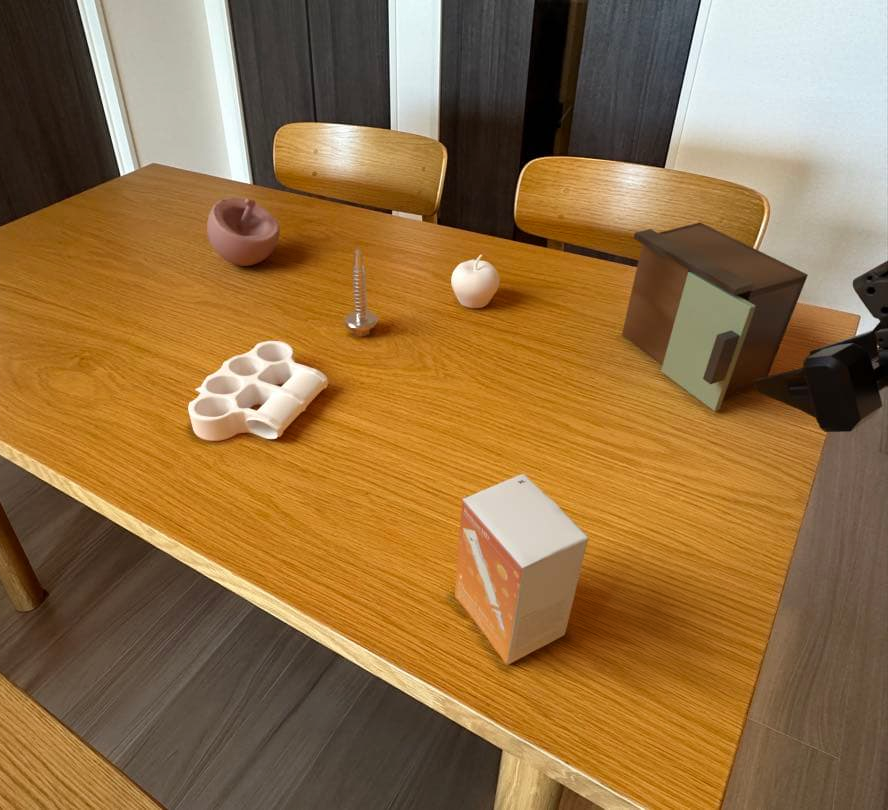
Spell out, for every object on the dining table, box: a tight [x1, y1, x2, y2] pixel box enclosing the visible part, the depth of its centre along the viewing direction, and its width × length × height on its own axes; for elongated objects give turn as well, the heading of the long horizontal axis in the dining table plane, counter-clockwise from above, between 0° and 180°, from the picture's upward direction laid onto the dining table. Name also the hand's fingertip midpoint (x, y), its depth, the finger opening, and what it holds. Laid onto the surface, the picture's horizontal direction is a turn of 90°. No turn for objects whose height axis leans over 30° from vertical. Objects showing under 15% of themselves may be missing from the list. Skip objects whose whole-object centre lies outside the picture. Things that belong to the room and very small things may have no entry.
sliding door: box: [660, 271, 756, 412], centre depth 80 cm, size 9×3×14 cm, turn 21°
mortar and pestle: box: [206, 197, 280, 267], centre depth 116 cm, size 12×12×12 cm
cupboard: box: [621, 222, 809, 398], centre depth 85 cm, size 16×10×16 cm, turn 21°
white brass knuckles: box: [187, 340, 329, 442], centre depth 87 cm, size 3×18×15 cm
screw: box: [343, 248, 379, 338], centre depth 96 cm, size 13×5×5 cm
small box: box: [454, 473, 589, 666], centre depth 58 cm, size 8×6×13 cm
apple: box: [450, 254, 500, 309], centre depth 103 cm, size 7×7×8 cm
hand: (784, 370), depth 65 cm, fingers open, 9 cm apart
